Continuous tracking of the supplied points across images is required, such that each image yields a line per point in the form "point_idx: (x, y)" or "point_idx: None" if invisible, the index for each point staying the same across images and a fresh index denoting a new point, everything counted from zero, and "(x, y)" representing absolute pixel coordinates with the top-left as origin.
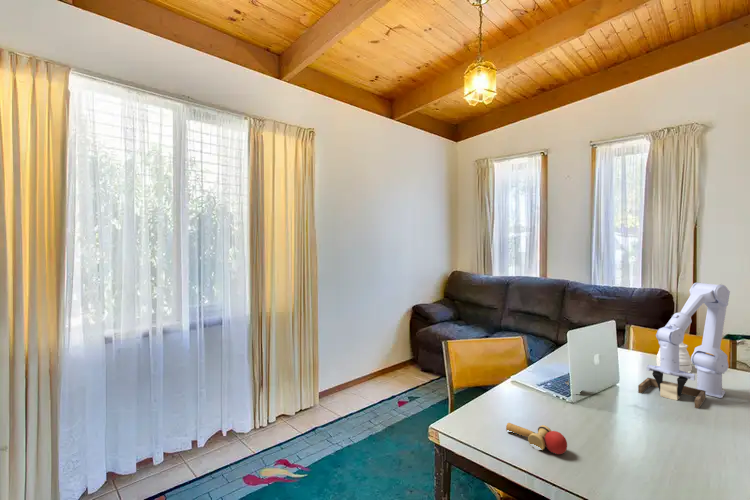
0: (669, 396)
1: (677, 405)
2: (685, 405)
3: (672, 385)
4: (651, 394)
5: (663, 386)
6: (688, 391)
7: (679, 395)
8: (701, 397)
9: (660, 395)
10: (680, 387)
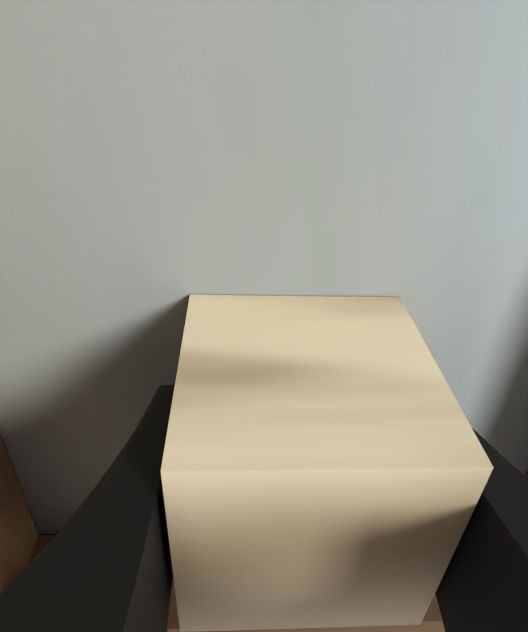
0: (287, 317)
1: (115, 57)
2: (35, 178)
3: (263, 526)
4: (515, 282)
5: (413, 430)
6: None
7: (163, 391)
8: None
9: (403, 306)
10: (99, 513)
